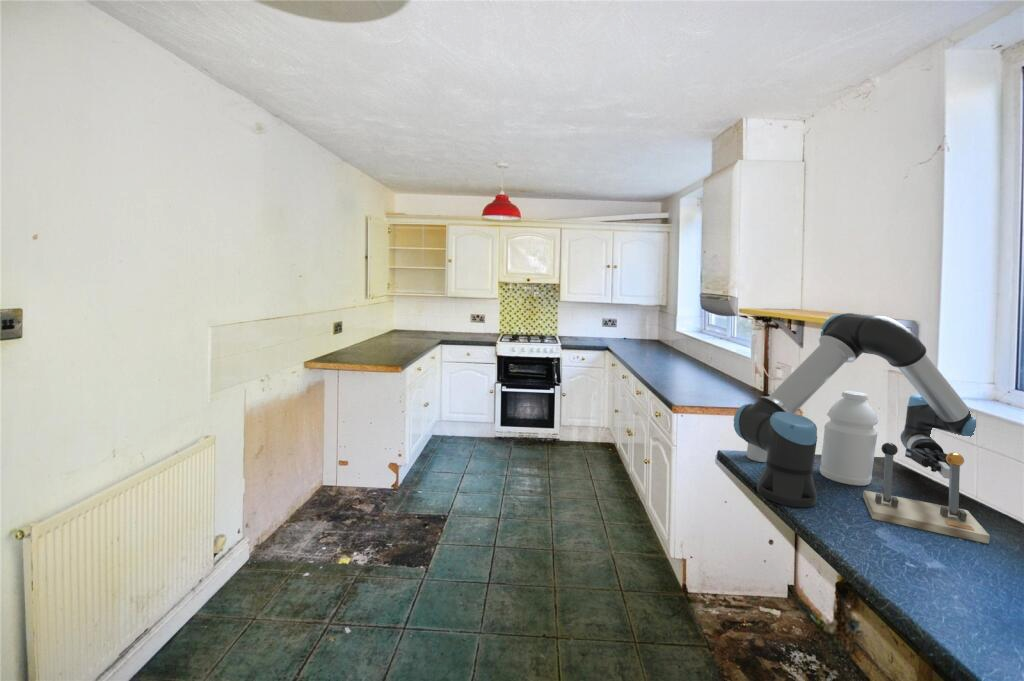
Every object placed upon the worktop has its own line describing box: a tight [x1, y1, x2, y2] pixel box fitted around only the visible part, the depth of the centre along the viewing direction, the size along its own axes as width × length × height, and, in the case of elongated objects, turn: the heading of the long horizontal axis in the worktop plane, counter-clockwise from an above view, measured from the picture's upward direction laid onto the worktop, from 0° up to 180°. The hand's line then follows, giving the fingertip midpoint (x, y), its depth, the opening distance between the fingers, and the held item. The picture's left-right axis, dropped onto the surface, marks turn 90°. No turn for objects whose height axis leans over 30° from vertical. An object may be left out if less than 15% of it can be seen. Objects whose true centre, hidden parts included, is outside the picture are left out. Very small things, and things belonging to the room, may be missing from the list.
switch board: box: [862, 489, 991, 544], centre depth 130 cm, size 23×16×4 cm
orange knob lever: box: [946, 452, 965, 516], centre depth 128 cm, size 4×4×16 cm
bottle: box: [819, 390, 879, 486], centre depth 156 cm, size 14×14×28 cm
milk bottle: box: [746, 442, 767, 463], centre depth 170 cm, size 8×8×20 cm
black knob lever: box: [880, 442, 899, 503], centre depth 135 cm, size 4×4×16 cm
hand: (948, 473), depth 133 cm, fingers closed
